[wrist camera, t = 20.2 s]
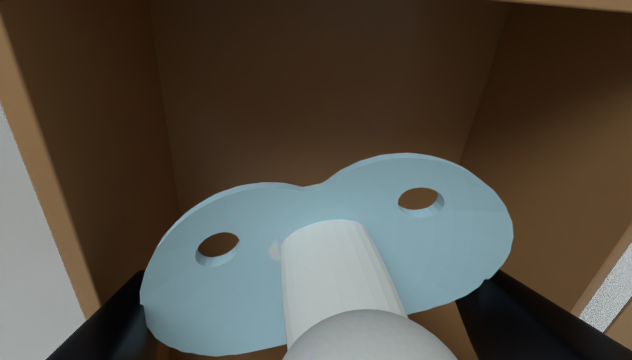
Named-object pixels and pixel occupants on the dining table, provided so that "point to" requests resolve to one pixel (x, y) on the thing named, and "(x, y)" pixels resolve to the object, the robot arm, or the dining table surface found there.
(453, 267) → the pacifier
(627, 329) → the flap
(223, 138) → the carton
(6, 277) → the dining table surface
